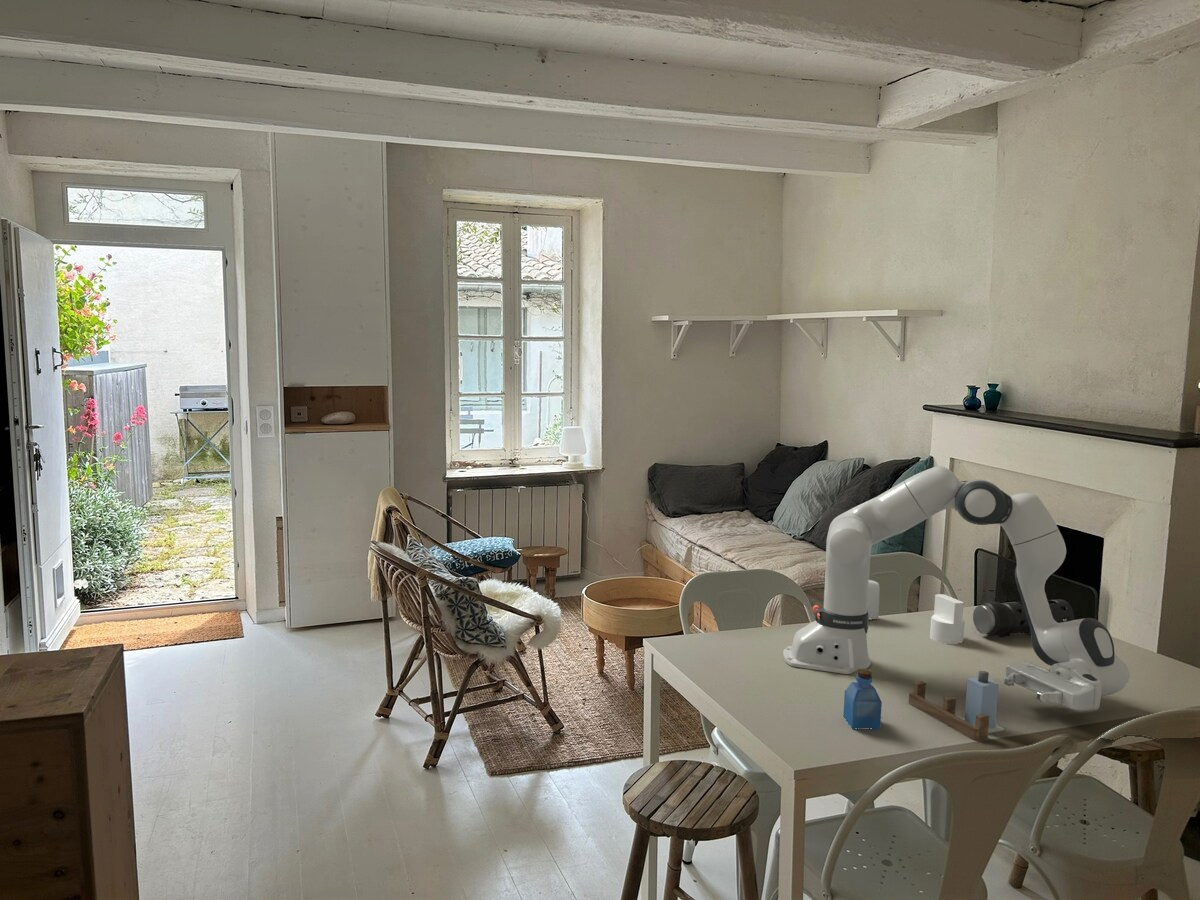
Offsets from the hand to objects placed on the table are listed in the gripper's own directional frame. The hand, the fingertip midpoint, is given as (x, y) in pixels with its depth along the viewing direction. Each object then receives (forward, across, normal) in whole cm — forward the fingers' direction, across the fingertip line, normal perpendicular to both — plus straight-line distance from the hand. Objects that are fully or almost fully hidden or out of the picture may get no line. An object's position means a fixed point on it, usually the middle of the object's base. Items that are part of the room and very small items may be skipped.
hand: (1022, 689), depth 199 cm
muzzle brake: (-49, -46, +8) cm, 67 cm away
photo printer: (-12, -73, +7) cm, 74 cm away
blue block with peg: (+12, 0, +7) cm, 13 cm away
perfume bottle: (+36, -10, +7) cm, 38 cm away
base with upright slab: (-24, -50, +7) cm, 56 cm away
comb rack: (+13, -5, +7) cm, 16 cm away
